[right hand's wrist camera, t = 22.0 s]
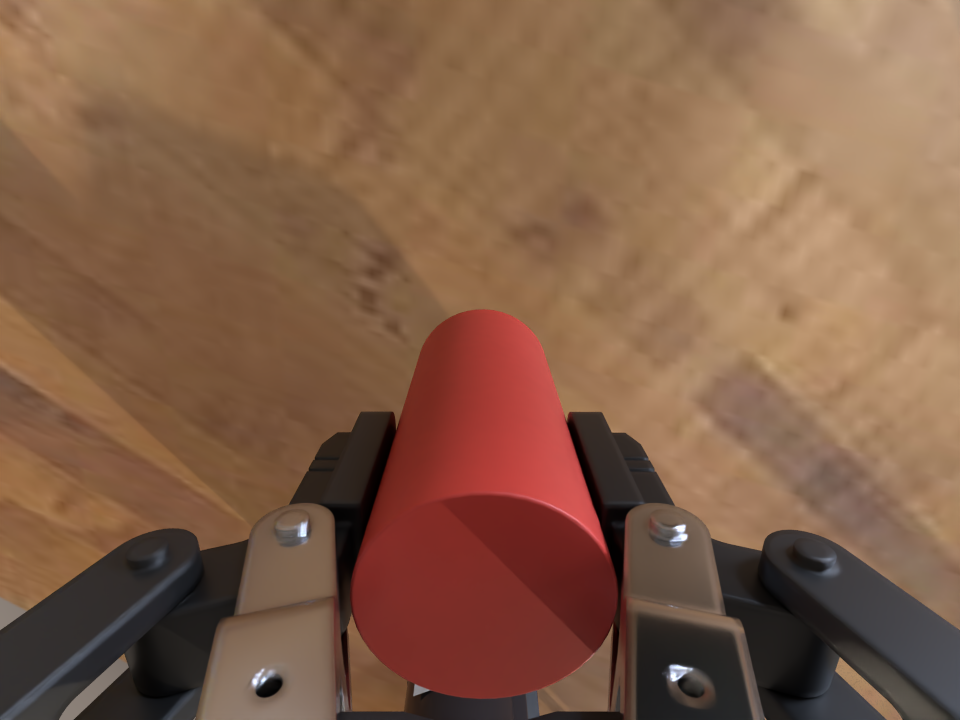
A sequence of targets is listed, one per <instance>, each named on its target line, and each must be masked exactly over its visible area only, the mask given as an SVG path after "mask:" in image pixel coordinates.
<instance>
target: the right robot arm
mask: <svg viewBox="0 0 960 720" xmlns="http://www.w3.org/2000/svg"><path fill="white" fill-rule="evenodd" d="M567 425H568V428H569V431H570V434H571V437H572V440H573V443H574V446H575V449H576V452H577V455H578V458H579V461H580V464H581V468H582V471H583V474H584V477H585V480H586V483H587V486H588V489H589V492H590V495H591V498H592V501H593V504H594V507H595V510H596V513H597V517H598V520H599V523H600V526H601V529H602V532H603V535H604V538H605V541H606V544H607V547H608V550H609V553H610V556H611V559H612V562H613V565H614V569H615V573H616V577H617V583H618V604H617V610H616V614H615V618H614V622H613V628H612V637H611V654H610V674H609V694H608V712H553V713H549V714H546V715H542V716H539V707H538V697H537V690H536V691H533V692H529V693H526V694H521V695H517V696H512V697H504V698H493V699H476V698H463V697H457V696H451V695H446V694H442V693H438V692H435V691H431V690H429V689H426V688H423V687H421V686H418V685H416V684H414V683H412V682H410V681H408V682H407V693H406V700H405V707H404V712H352V694H351V674H350V654H349V637H348V628H347V626H348V624H349V620H350V617H351V613H352V609H351V602H350V584H351V579H352V574H353V570H354V566H355V563H356V560H357V557H358V553H359V550H360V547H361V544H362V540H363V537H364V534H365V531H366V527H367V524H368V521H369V518H370V514H371V511H372V508H373V505H374V501H375V498H376V495H377V492H378V488H379V485H380V482H381V479H382V475H383V472H384V469H385V466H386V462H387V459H388V456H389V453H390V449H391V446H392V443H393V440H394V437H395V433H396V423H395V415H394V412H361V413H360V415H359V417H358V419H357V421H356V423H355V426H354V428H353V430H352V432H338V433H336V434H335V435H334V436H332V437H331V438H330V439H328V440H327V441H326V442H324V443H323V444H322V445H321V447H320V449H319V451H318V453H317V454H316V456H315V460H313V462H312V464H311V465H310V467H309V471H307V473H306V474H305V476H304V478H303V480H302V482H301V484H300V485H299V487H298V489H297V491H296V493H295V495H294V496H293V498H292V500H291V502H290V504H289V505H287V506H284V507H281V508H278V509H276V510H274V511H272V512H270V513H268V514H266V515H265V516H263V517H262V518H261V519H260V520H259V521H258V522H257V523H256V524H255V525H254V527H253V528H252V530H251V533H250V536H249V539H248V540H245V541H242V542H238V543H234V544H230V545H225V546H220V547H216V548H211V549H206V550H202V551H200V548H199V544H198V540H197V537H196V536H195V535H194V534H193V533H191V532H189V531H187V530H183V529H174V528H171V529H162V530H156V531H152V532H148V533H145V534H142V535H140V536H137V537H135V538H133V539H131V540H129V541H127V542H125V543H123V544H122V545H120V546H119V547H117V548H116V549H114V550H113V551H112V552H110V553H109V554H107V555H106V556H105V557H103V558H102V559H100V560H99V561H97V562H96V563H95V564H93V565H92V566H90V567H89V568H88V569H86V570H85V571H83V572H82V573H81V574H79V575H78V576H76V577H75V578H73V579H72V580H71V581H69V582H68V583H66V584H65V585H64V586H62V587H61V588H59V589H58V590H57V591H55V592H54V593H52V594H51V595H49V596H48V597H47V598H45V599H44V600H42V601H41V602H40V603H38V604H37V605H35V606H34V607H33V608H31V609H30V610H28V611H27V612H25V613H24V614H23V615H21V616H20V617H18V618H17V619H16V620H14V621H13V622H11V623H10V624H9V625H7V626H6V627H4V628H3V629H1V630H0V720H59V718H60V716H61V715H62V713H63V712H64V710H65V709H66V707H67V706H68V705H69V704H70V703H71V701H72V700H73V699H74V698H75V697H76V696H78V695H79V694H80V693H81V692H82V691H83V690H84V689H85V688H86V687H87V686H89V685H90V684H91V683H92V682H93V681H94V680H95V679H96V678H97V677H98V676H100V675H101V674H102V673H103V672H104V671H105V670H106V669H107V668H108V667H109V666H111V665H112V664H113V663H114V662H115V661H116V660H117V659H118V658H119V657H120V656H121V655H123V654H125V657H126V660H127V663H128V666H129V668H128V669H127V670H126V671H125V672H124V673H123V674H121V676H119V677H118V678H117V679H116V680H115V681H114V682H113V683H112V684H111V685H110V686H109V687H108V688H107V689H106V690H105V691H104V692H102V693H101V694H100V695H99V696H98V697H97V698H96V699H95V700H94V701H93V702H92V703H91V704H90V705H89V706H88V707H87V708H86V709H84V710H83V711H82V712H81V713H80V714H79V715H78V716H77V717H76V718H75V719H74V720H193V719H194V718H195V717H196V719H195V720H765V718H766V719H767V720H886V719H885V718H884V717H883V716H882V715H881V714H880V713H879V712H878V711H877V710H876V709H874V708H873V707H872V706H871V705H870V704H869V703H868V702H867V701H866V700H865V699H864V698H863V697H862V696H861V695H860V694H859V693H858V692H857V691H855V690H854V689H853V688H852V687H851V686H850V685H849V684H848V683H847V682H846V681H845V680H844V679H843V678H842V677H841V676H840V675H839V674H838V673H836V672H835V669H836V666H837V663H838V660H839V657H841V658H842V659H843V660H844V661H845V662H846V663H847V664H848V665H850V666H851V667H852V668H853V669H854V670H855V671H856V672H857V673H858V674H859V675H860V676H862V677H863V678H864V679H865V680H866V681H867V682H868V683H869V684H870V685H871V686H873V687H874V688H875V689H876V690H877V691H878V692H879V693H880V694H881V695H882V696H883V697H885V698H886V699H887V700H888V701H889V702H890V703H891V704H892V705H893V706H894V708H895V709H896V710H897V711H898V713H899V714H900V716H901V717H902V719H903V720H960V630H959V629H957V628H956V627H954V626H953V625H951V624H950V623H949V622H947V621H946V620H944V619H943V618H942V617H940V616H939V615H937V614H936V613H935V612H933V611H932V610H930V609H929V608H927V607H926V606H925V605H923V604H922V603H920V602H919V601H918V600H916V599H915V598H913V597H912V596H911V595H909V594H908V593H906V592H905V591H903V590H902V589H901V588H899V587H898V586H896V585H895V584H894V583H892V582H891V581H889V580H888V579H887V578H885V577H884V576H882V575H881V574H879V573H878V572H877V571H875V570H874V569H872V568H871V567H870V566H868V565H867V564H865V563H864V562H863V561H861V560H860V559H858V558H857V557H856V556H854V555H853V554H851V553H850V552H848V551H847V550H846V549H844V548H843V547H841V546H839V545H838V544H836V543H834V542H832V541H830V540H828V539H826V538H824V537H821V536H818V535H815V534H812V533H808V532H804V531H798V530H781V531H776V532H773V533H771V534H770V535H768V536H767V538H766V539H765V541H764V545H763V549H762V551H759V550H755V549H750V548H745V547H741V546H736V545H731V544H727V543H723V542H720V541H717V540H714V539H712V538H711V536H710V533H709V530H708V528H707V527H706V525H705V524H704V523H703V522H702V521H701V520H700V519H699V518H698V517H697V516H695V515H694V514H692V513H690V512H688V511H686V510H684V509H682V508H679V507H676V506H675V505H674V503H673V501H672V499H671V498H670V496H669V494H668V492H667V491H666V489H665V487H664V485H663V483H662V482H661V480H660V478H659V476H658V474H657V473H656V472H655V471H654V467H653V465H652V464H651V462H650V461H648V456H647V455H646V453H645V451H644V449H643V448H642V446H641V444H640V443H638V442H637V441H636V440H634V439H633V438H631V437H630V436H629V435H627V434H626V433H612V432H611V430H610V428H609V426H608V424H607V422H606V420H605V418H604V416H603V414H602V412H569V414H568V419H567ZM764 717H765V718H764Z"/></svg>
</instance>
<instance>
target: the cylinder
mask: <svg viewBox="0 0 960 720" xmlns="http://www.w3.org/2000/svg"><path fill="white" fill-rule="evenodd" d="M350 602H351V609H352V614H353V618H354V621H355V624H356V627H357V629H358V631H359V633H360V635H361V637H362V639H363V640H364V642H365V643H366V645H367V646H368V648H369V649H370V650H371V652H372V653H373V654H374V655H375V656H376V657H377V658H378V659H379V660H380V661H381V662H382V663H383V664H385V665H386V666H387V667H388V668H389V669H391V670H392V671H393V672H395V673H396V674H398V675H399V676H401V677H403V678H404V679H406V680H408V681H410V682H412V683H414V684H416V685H418V686H421V687H423V688H426V689H429V690H431V691H435V692H438V693H442V694H446V695H451V696H457V697H463V698H476V699H493V698H504V697H512V696H517V695H521V694H526V693H529V692H533V691H536V690H539V689H542V688H544V687H547V686H549V685H552V684H554V683H556V682H558V681H560V680H561V679H563V678H565V677H567V676H569V675H570V674H571V673H573V672H574V671H576V670H577V669H578V668H580V667H581V666H582V665H583V664H584V663H586V662H587V661H588V660H589V659H590V658H591V657H592V656H593V655H594V653H595V652H596V651H597V650H598V649H599V648H600V646H601V645H602V643H603V642H604V640H605V638H606V637H607V635H608V633H609V631H610V629H611V626H612V624H613V622H614V618H615V614H616V610H617V604H618V583H617V577H616V573H615V569H614V565H613V562H612V559H611V556H610V553H609V550H608V547H607V544H606V541H605V538H604V535H603V532H602V529H601V526H600V523H599V520H598V517H597V513H596V510H595V507H594V504H593V501H592V498H591V495H590V492H589V489H588V486H587V483H586V480H585V477H584V474H583V471H582V468H581V464H580V461H579V458H578V455H577V452H576V449H575V446H574V443H573V440H572V437H571V434H570V431H569V428H568V425H567V422H566V419H565V415H564V412H563V409H562V406H561V403H560V400H559V397H558V394H557V391H556V388H555V385H554V382H553V379H552V376H551V373H550V370H549V367H548V363H547V360H546V357H545V354H544V351H543V349H542V346H541V344H540V342H539V341H538V339H537V337H536V336H535V335H534V333H533V332H532V331H531V330H530V329H529V328H528V327H527V326H526V325H525V324H524V323H522V322H521V321H519V320H518V319H516V318H514V317H512V316H510V315H508V314H505V313H503V312H499V311H494V310H485V309H483V310H471V311H466V312H462V313H459V314H456V315H454V316H452V317H450V318H448V319H447V320H445V321H443V322H442V323H441V324H440V325H438V326H437V327H436V328H435V329H434V330H433V331H432V332H431V334H430V335H429V336H428V338H427V339H426V341H425V343H424V345H423V347H422V350H421V352H420V355H419V359H418V362H417V365H416V368H415V372H414V375H413V378H412V381H411V385H410V388H409V391H408V394H407V398H406V401H405V404H404V407H403V411H402V414H401V417H400V420H399V424H398V427H397V430H396V433H395V437H394V440H393V443H392V446H391V449H390V453H389V456H388V459H387V462H386V466H385V469H384V472H383V475H382V479H381V482H380V485H379V488H378V492H377V495H376V498H375V501H374V505H373V508H372V511H371V514H370V518H369V521H368V524H367V527H366V531H365V534H364V537H363V540H362V544H361V547H360V550H359V553H358V557H357V560H356V563H355V566H354V570H353V574H352V579H351V584H350Z"/></svg>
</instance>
